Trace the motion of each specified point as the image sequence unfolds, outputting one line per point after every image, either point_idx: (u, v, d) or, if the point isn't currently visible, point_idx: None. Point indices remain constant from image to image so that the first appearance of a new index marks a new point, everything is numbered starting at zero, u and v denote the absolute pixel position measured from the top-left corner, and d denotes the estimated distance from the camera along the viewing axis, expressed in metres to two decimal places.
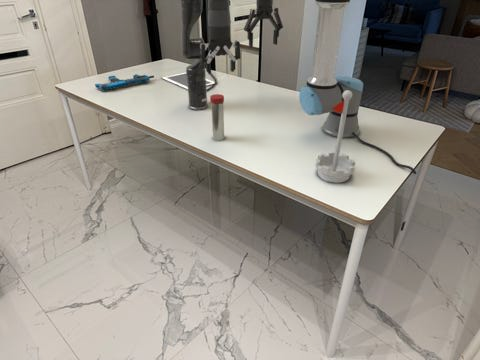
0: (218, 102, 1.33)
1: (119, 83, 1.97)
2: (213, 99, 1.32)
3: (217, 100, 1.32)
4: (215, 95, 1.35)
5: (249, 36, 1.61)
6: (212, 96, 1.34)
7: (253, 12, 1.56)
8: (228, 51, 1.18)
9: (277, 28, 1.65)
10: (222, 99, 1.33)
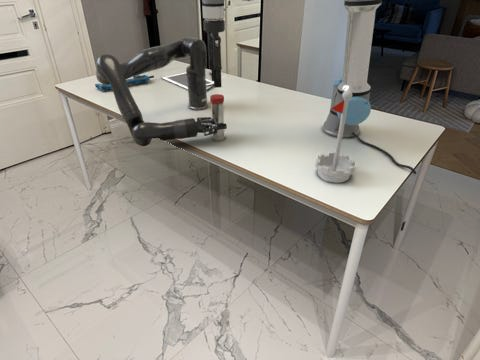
0: (218, 102, 1.33)
1: None
2: (213, 99, 1.32)
3: (217, 100, 1.32)
4: (215, 95, 1.35)
5: None
6: (212, 96, 1.34)
7: None
8: None
9: None
10: (222, 99, 1.33)
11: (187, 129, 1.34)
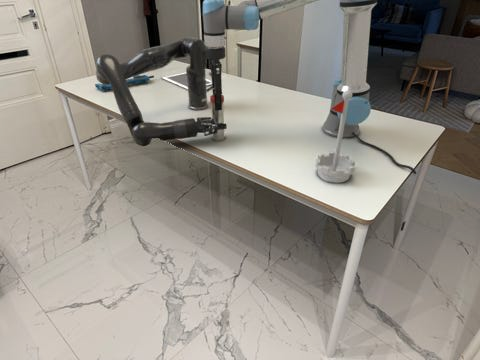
0: None
1: None
2: (213, 99, 1.32)
3: None
4: None
5: None
6: (212, 96, 1.34)
7: None
8: None
9: None
10: (222, 99, 1.33)
11: (187, 129, 1.34)
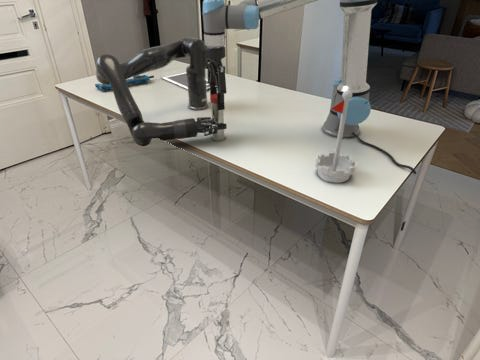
0: None
1: None
2: None
3: None
4: (213, 96, 1.34)
5: None
6: (215, 97, 1.33)
7: (207, 62, 1.32)
8: None
9: None
10: None
11: (187, 129, 1.34)
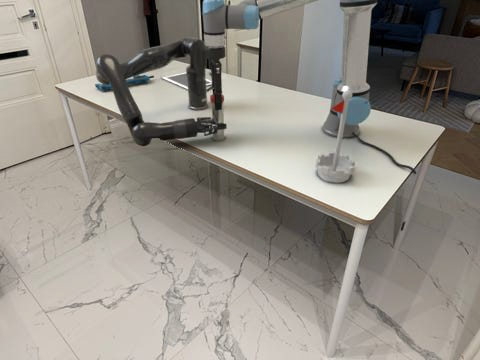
0: (223, 99, 1.34)
1: None
2: None
3: (223, 98, 1.34)
4: (213, 96, 1.34)
5: None
6: None
7: None
8: None
9: (214, 91, 1.29)
10: None
11: (187, 129, 1.34)
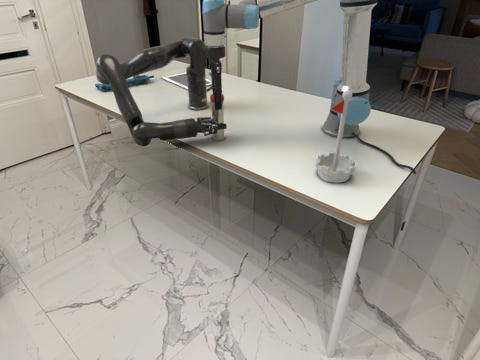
0: None
1: None
2: None
3: None
4: None
5: None
6: None
7: None
8: None
9: None
10: None
11: (187, 129, 1.34)
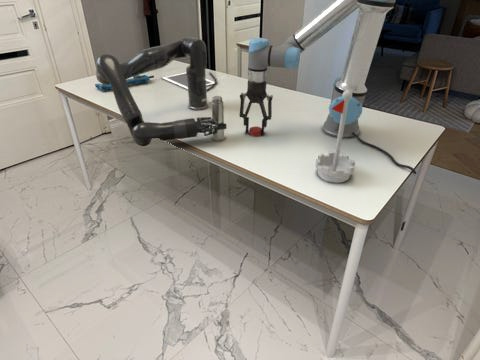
0: None
1: None
2: None
3: None
4: (258, 129, 1.46)
5: (244, 122, 1.45)
6: (259, 128, 1.47)
7: (241, 97, 1.39)
8: None
9: None
10: (249, 130, 1.47)
11: (187, 129, 1.34)
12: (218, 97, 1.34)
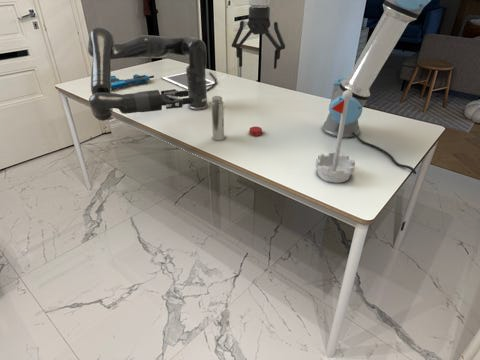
0: None
1: (119, 83, 1.97)
2: None
3: None
4: (258, 129, 1.46)
5: (237, 53, 1.30)
6: (259, 128, 1.47)
7: (241, 24, 1.24)
8: None
9: (276, 48, 1.26)
10: (249, 130, 1.47)
11: (150, 101, 1.23)
12: (218, 97, 1.34)
